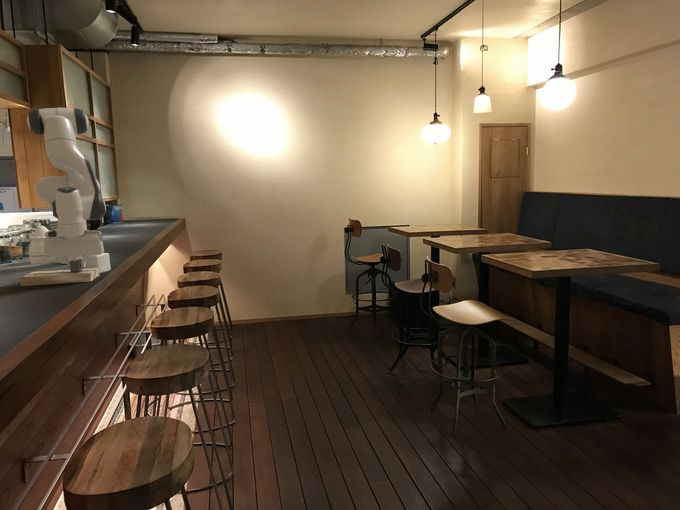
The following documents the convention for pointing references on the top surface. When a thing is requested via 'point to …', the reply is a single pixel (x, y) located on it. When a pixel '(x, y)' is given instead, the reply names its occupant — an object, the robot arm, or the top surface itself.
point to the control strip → (59, 276)
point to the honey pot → (39, 246)
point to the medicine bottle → (98, 262)
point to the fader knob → (75, 265)
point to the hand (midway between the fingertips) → (76, 267)
